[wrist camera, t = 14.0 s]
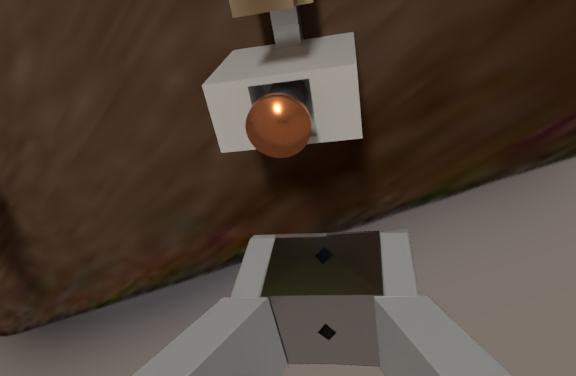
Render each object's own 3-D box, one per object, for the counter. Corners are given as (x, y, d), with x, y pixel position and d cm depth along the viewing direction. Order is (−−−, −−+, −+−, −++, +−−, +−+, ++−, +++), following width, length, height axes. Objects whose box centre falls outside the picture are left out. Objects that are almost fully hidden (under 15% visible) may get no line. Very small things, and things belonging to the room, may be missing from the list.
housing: (353, 31, 32) (356, 63, 24) (358, 92, 34) (362, 138, 27) (233, 50, 34) (201, 85, 26) (246, 106, 36) (221, 152, 29)
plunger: (312, 63, 28) (305, 93, 23) (319, 117, 30) (314, 154, 25) (256, 71, 29) (238, 101, 24) (267, 122, 31) (253, 160, 26)
